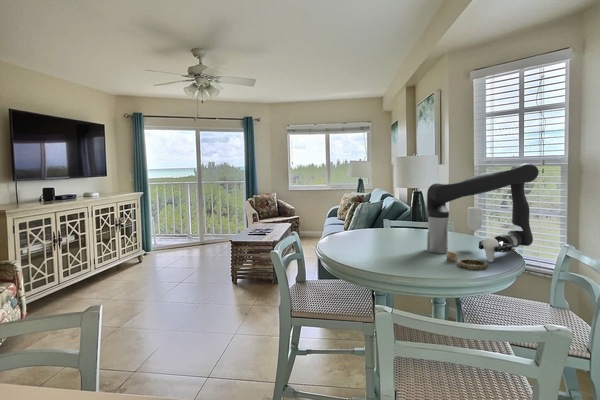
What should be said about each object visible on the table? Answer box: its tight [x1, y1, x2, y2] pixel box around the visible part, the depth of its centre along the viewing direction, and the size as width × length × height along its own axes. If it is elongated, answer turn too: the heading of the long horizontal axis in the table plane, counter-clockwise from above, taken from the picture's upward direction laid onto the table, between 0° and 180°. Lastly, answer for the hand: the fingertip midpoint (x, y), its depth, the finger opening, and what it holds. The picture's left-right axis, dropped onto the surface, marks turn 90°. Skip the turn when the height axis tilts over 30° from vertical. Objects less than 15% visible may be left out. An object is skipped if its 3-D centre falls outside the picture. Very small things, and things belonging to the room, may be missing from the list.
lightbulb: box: [483, 236, 499, 263], centre depth 149 cm, size 6×6×11 cm
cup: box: [466, 206, 484, 232], centre depth 173 cm, size 7×7×21 cm
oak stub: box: [446, 250, 458, 264], centre depth 151 cm, size 4×4×4 cm
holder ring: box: [457, 258, 488, 271], centre depth 144 cm, size 10×10×2 cm
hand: (487, 248), depth 147 cm, fingers closed on lightbulb, 5 cm apart
